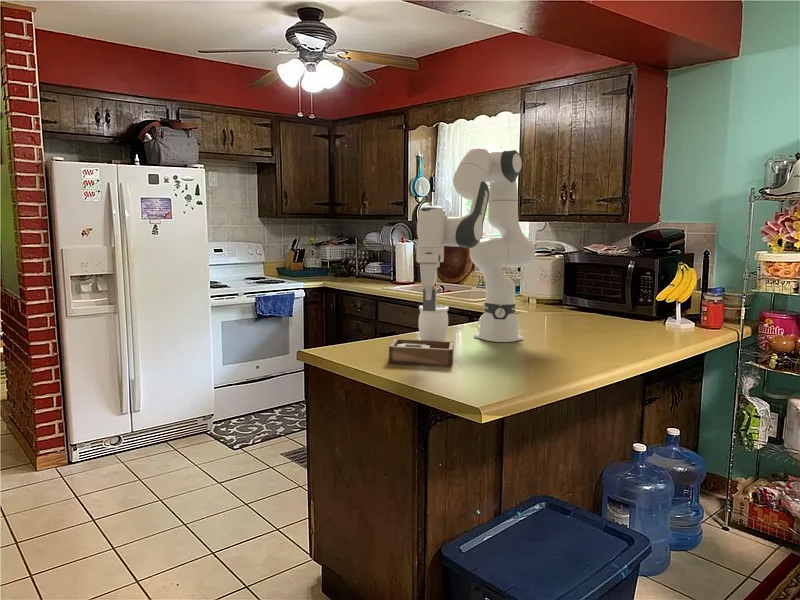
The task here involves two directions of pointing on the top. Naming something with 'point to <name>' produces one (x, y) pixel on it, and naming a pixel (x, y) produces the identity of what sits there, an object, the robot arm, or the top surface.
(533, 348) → the top surface
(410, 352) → the box
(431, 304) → the block
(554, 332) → the top surface
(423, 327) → the jar
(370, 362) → the top surface
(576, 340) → the top surface
